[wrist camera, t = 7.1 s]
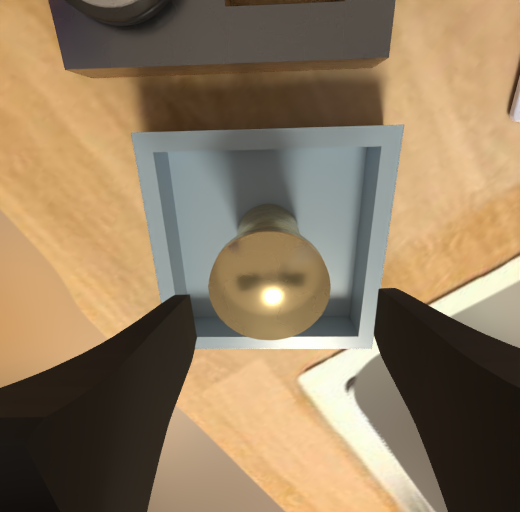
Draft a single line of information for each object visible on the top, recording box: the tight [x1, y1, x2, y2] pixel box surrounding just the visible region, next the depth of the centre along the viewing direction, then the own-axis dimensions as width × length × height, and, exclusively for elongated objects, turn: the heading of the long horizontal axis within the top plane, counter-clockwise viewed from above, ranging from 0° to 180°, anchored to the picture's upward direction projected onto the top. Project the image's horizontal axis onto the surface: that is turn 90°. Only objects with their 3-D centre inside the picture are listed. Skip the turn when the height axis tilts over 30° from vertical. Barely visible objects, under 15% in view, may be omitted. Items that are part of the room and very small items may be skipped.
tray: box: [131, 125, 404, 349], centre depth 19 cm, size 14×14×3 cm
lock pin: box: [208, 204, 331, 340], centre depth 16 cm, size 5×5×8 cm
